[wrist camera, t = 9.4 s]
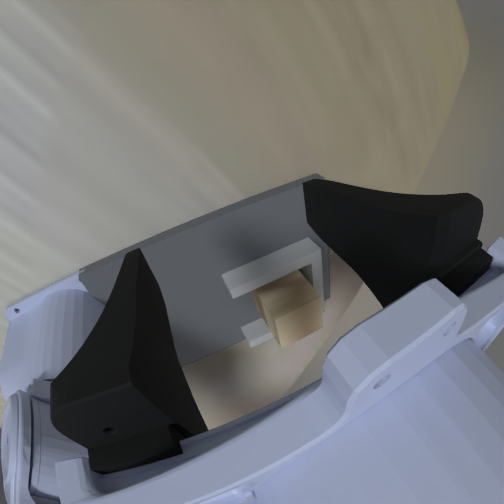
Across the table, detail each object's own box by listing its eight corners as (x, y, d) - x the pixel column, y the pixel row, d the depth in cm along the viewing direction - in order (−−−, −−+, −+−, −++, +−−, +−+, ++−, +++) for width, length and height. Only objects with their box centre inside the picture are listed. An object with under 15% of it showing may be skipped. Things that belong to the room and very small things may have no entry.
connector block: (257, 309, 28) (281, 348, 24) (248, 279, 26) (275, 319, 22) (295, 292, 29) (322, 327, 25) (290, 261, 26) (321, 296, 23)
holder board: (153, 369, 29) (159, 392, 26) (79, 269, 20) (76, 294, 18) (324, 291, 33) (340, 309, 30) (316, 173, 24) (338, 186, 22)
